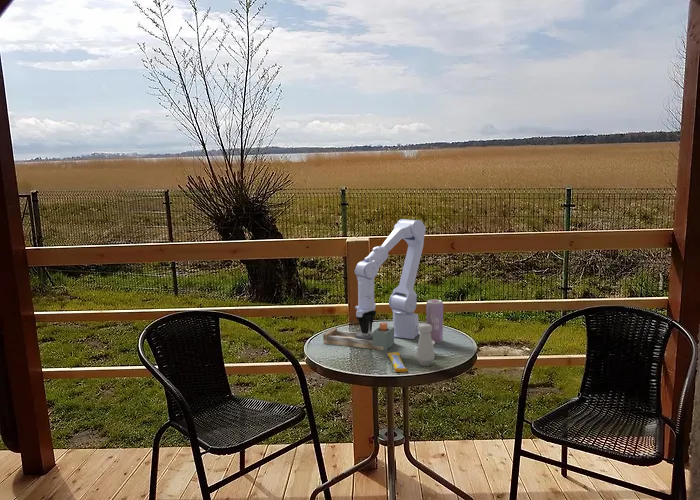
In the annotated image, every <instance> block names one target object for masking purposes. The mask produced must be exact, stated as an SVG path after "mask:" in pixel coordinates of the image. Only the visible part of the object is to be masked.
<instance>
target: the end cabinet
mask: <svg viewBox="0 0 700 500" xmlns="http://www.w3.org/2000/svg"><path fill="white" fill-rule="evenodd" d="M372 333H373V346H376V347H377V346H381V347H383V350H381V349H380V350H379V349H377V350H379V351H387V350H388V349H390V348H391V347H392V346H393V345H394V344H395V337H394V327H393V326H388V325H387V331H380V326H378V327H377V328H376V329H375V330H373V331H372ZM372 350H375V349H374V348H373V349H372Z"/></svg>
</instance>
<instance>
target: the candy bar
mask: <svg viewBox="0 0 700 500" xmlns="http://www.w3.org/2000/svg"><path fill="white" fill-rule="evenodd" d="M387 356H388V358H389V360H390V362H391V365H392V364H393V365H392V367H393V369H394V372H395V373H397V372H400V373H406V372H405V371H407V372H408V371H409V370H408V368H407V367H406V366H405V364H404V363H403V360H402V358H401V353H400V352H388V353H387Z"/></svg>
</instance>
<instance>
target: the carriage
mask: <svg viewBox="0 0 700 500" xmlns="http://www.w3.org/2000/svg"><path fill="white" fill-rule="evenodd" d="M357 333H358V334H357V335H355V338H357V339H366V340H373V332H371V331H370V323H369V331H368V333H367V334H365V333H362V332H361V331H360V332H357Z"/></svg>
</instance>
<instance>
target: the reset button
mask: <svg viewBox="0 0 700 500" xmlns="http://www.w3.org/2000/svg"><path fill="white" fill-rule="evenodd" d="M387 326H388V323H387V322H380V323H379V327H380V331H387Z"/></svg>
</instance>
